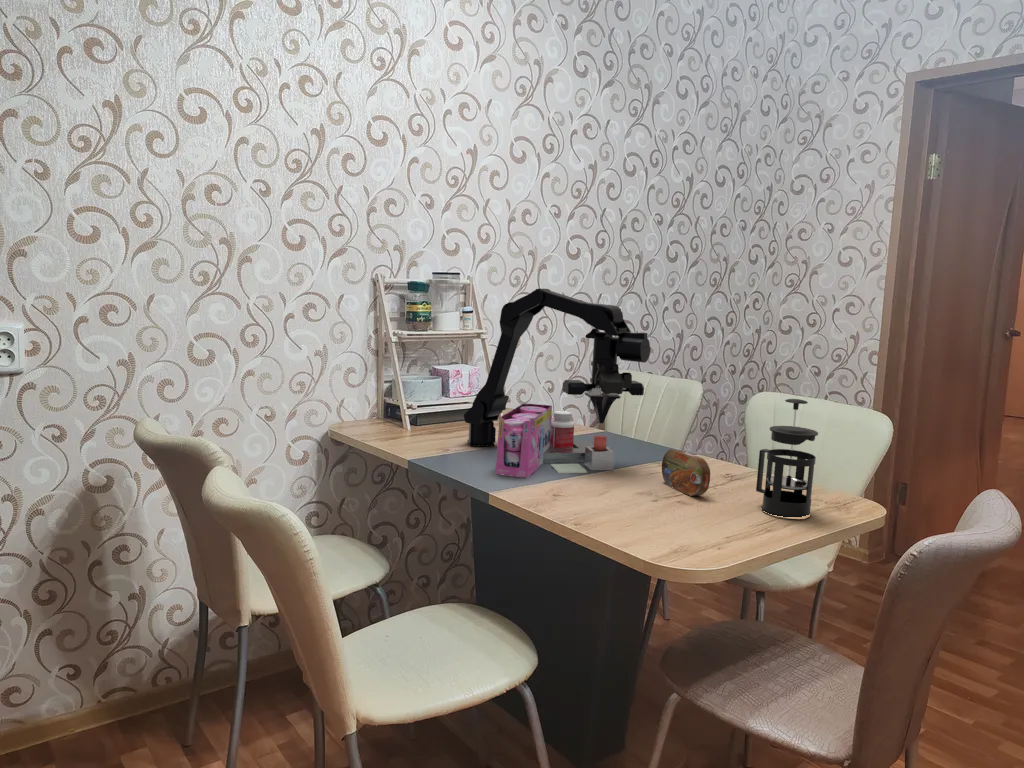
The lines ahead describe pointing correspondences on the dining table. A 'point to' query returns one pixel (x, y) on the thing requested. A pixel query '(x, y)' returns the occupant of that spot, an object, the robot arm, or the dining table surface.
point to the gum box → (523, 439)
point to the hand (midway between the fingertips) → (600, 423)
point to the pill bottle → (562, 430)
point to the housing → (599, 458)
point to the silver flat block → (567, 453)
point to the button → (600, 442)
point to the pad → (568, 468)
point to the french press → (787, 500)
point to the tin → (686, 472)
